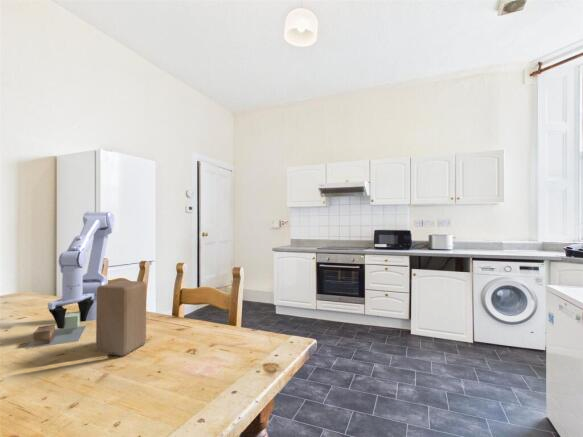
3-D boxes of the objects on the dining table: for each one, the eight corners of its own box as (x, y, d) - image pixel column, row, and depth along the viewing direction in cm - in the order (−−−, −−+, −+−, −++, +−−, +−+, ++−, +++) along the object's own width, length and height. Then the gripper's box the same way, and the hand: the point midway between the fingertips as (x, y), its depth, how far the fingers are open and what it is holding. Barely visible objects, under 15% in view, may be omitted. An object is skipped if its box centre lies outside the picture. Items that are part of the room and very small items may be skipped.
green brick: (80, 322, 106) (80, 311, 106) (77, 327, 101) (77, 315, 101) (66, 324, 104) (66, 312, 104) (62, 329, 99) (63, 317, 99)
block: (123, 357, 85) (124, 287, 85) (94, 354, 87) (95, 286, 87) (147, 343, 95) (147, 281, 95) (120, 341, 97) (121, 280, 97)
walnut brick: (54, 337, 97) (54, 324, 97) (49, 343, 92) (49, 330, 92) (38, 339, 95) (39, 326, 95) (33, 346, 90) (33, 332, 90)
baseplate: (86, 328, 108) (86, 325, 108) (78, 344, 94) (78, 340, 94) (40, 335, 102) (40, 331, 102) (24, 352, 88) (24, 348, 88)
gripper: (84, 280, 111) (84, 317, 111) (41, 288, 97) (40, 330, 97) (98, 281, 109) (98, 318, 109) (56, 290, 95) (56, 332, 95)
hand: (72, 324), depth 103 cm, fingers closed on green brick, 7 cm apart
